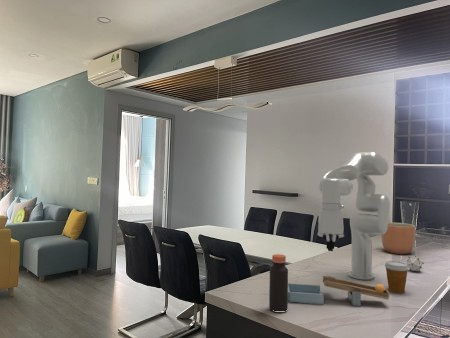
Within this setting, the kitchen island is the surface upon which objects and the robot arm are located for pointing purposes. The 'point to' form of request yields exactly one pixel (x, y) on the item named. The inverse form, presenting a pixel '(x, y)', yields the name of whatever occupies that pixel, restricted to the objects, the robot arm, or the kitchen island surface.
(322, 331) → the kitchen island surface
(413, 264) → the spiky grey ball
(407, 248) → the planter
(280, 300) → the bottle
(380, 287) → the ball
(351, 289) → the lever
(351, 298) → the grey arch block
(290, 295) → the dish
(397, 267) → the disposable coffee cup
